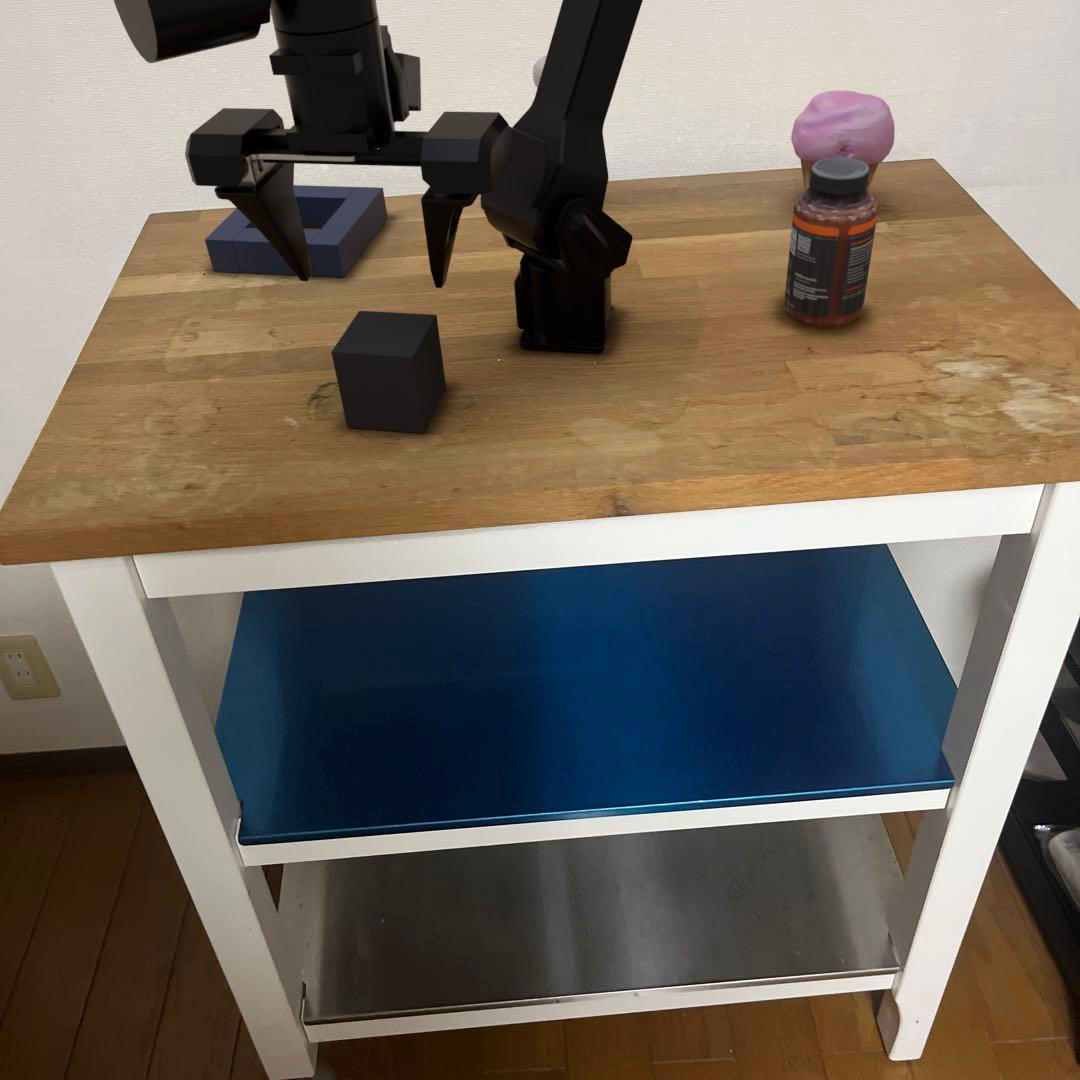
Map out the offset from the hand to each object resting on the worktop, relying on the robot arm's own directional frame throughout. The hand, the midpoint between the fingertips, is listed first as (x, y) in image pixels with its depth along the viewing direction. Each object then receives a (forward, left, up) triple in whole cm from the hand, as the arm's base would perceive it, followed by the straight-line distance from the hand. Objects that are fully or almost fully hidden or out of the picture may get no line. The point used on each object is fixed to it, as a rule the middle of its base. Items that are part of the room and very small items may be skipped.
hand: (373, 281), depth 67 cm
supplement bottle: (-29, -17, -10) cm, 35 cm away
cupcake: (-30, -37, -10) cm, 49 cm away
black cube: (0, 0, -10) cm, 10 cm away
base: (+17, -25, -10) cm, 31 cm away
